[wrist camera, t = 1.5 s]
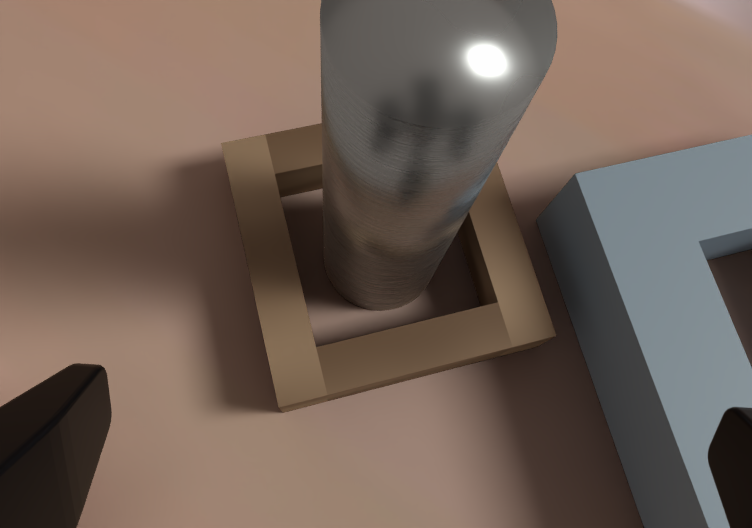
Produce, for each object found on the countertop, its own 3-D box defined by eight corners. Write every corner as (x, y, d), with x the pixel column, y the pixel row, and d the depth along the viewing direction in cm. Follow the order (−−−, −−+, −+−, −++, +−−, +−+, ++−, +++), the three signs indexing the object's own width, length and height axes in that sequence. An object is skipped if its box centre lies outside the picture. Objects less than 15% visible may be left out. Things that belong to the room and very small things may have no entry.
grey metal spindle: (448, 295, 23) (590, 98, 11) (338, 322, 22) (354, 146, 10) (417, 193, 24) (514, -94, 12) (312, 216, 24) (296, -60, 11)
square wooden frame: (537, 346, 23) (556, 335, 21) (282, 412, 21) (278, 407, 20) (462, 121, 25) (473, 93, 23) (229, 169, 24) (221, 143, 22)
